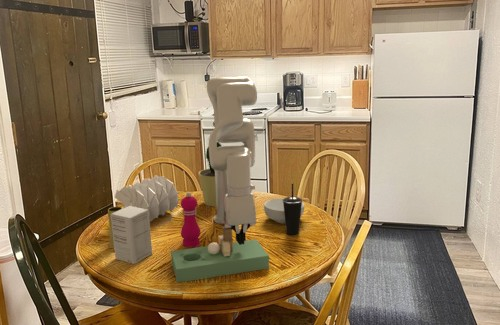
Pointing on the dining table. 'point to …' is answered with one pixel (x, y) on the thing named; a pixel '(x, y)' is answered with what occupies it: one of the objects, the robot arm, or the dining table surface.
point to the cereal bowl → (277, 210)
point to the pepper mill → (190, 222)
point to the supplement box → (131, 234)
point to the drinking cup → (292, 214)
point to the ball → (213, 248)
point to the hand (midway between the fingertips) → (240, 242)
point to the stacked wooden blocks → (226, 242)
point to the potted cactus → (208, 182)
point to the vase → (110, 211)
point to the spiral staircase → (150, 196)
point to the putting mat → (218, 261)
